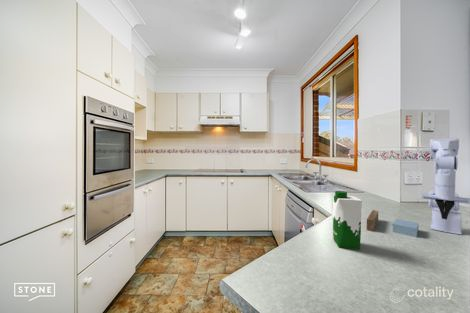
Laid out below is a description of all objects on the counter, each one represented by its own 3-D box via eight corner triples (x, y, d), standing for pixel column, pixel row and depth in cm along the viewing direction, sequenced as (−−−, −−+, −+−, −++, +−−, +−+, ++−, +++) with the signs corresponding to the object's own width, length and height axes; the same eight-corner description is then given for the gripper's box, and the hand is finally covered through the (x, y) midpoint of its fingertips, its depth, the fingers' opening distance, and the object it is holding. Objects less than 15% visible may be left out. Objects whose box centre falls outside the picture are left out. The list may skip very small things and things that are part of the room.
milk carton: (330, 238, 82) (331, 189, 82) (354, 240, 80) (355, 190, 80) (336, 248, 74) (337, 193, 73) (364, 251, 72) (365, 195, 72)
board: (378, 220, 106) (378, 211, 106) (373, 231, 91) (373, 220, 91) (372, 219, 107) (372, 210, 107) (366, 230, 92) (366, 219, 92)
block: (418, 231, 92) (418, 223, 92) (416, 238, 85) (416, 228, 85) (396, 227, 97) (396, 218, 97) (392, 232, 90) (392, 223, 90)
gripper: (421, 184, 85) (420, 217, 85) (474, 188, 75) (473, 225, 75) (420, 183, 90) (419, 213, 90) (470, 186, 81) (469, 220, 81)
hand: (444, 218), depth 83 cm, fingers closed
